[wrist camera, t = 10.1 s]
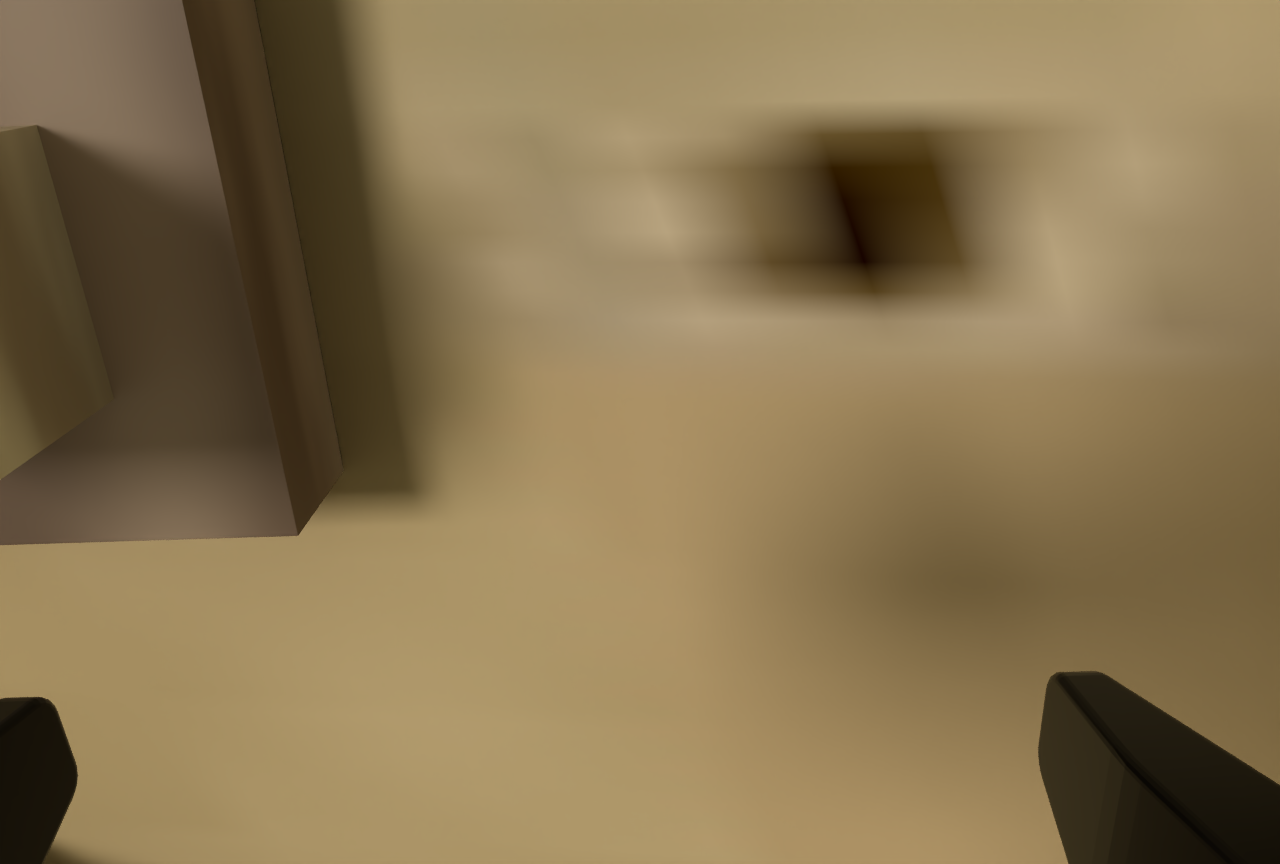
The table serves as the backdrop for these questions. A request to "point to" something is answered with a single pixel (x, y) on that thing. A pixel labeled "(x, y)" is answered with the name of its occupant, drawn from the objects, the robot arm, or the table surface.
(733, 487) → the table surface
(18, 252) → the beige cube
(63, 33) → the pedestal
